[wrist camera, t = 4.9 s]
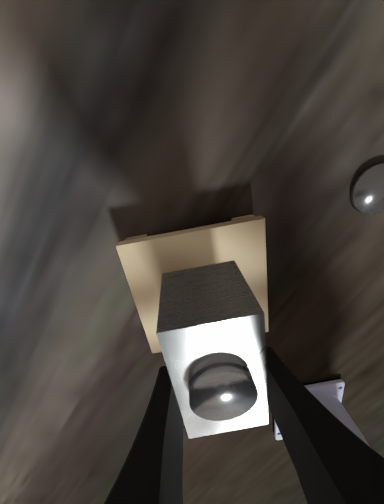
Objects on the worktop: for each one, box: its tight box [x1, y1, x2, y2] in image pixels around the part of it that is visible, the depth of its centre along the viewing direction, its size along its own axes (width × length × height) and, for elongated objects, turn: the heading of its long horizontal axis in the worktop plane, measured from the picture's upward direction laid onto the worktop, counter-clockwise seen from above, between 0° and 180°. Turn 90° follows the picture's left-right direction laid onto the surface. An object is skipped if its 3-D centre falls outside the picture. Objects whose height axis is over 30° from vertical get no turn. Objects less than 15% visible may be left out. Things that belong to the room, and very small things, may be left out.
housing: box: [156, 260, 269, 439], centre depth 11 cm, size 4×7×5 cm, turn 9°
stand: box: [116, 214, 269, 353], centre depth 17 cm, size 10×10×2 cm
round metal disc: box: [350, 163, 384, 214], centre depth 16 cm, size 4×4×1 cm
